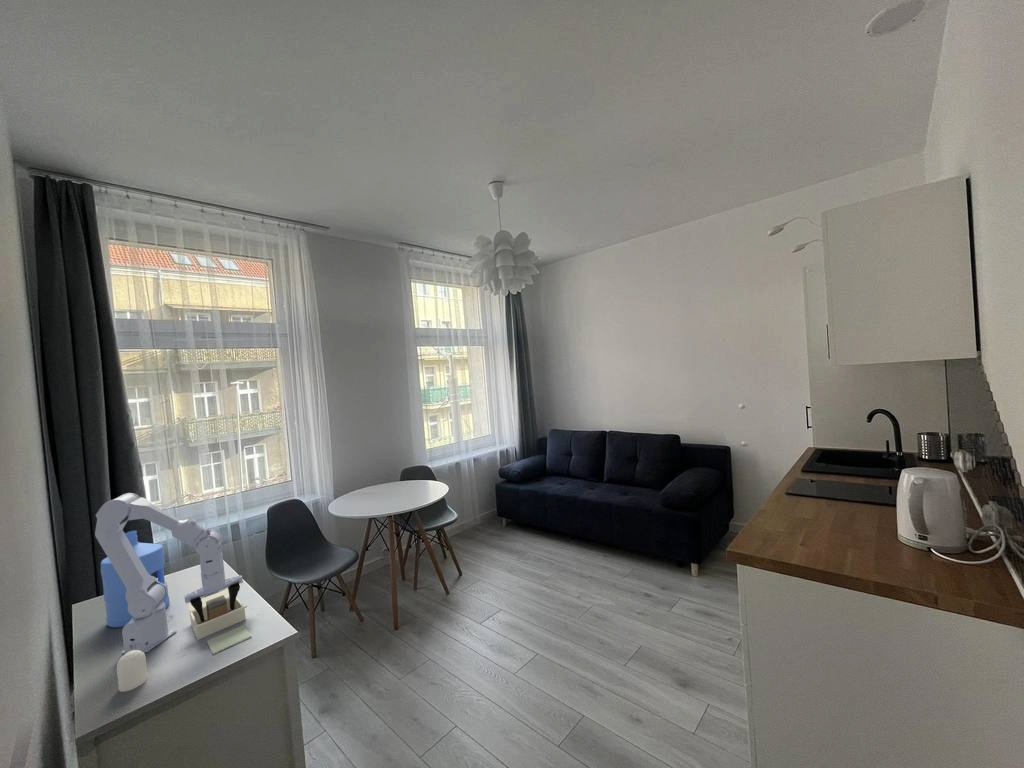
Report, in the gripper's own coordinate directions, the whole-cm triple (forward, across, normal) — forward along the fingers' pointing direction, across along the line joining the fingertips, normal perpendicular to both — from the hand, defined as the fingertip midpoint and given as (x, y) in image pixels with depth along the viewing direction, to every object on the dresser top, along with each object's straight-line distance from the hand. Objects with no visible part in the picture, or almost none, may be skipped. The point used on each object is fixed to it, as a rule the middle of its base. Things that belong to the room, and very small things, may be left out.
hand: (217, 614), depth 126 cm
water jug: (+3, +17, -32) cm, 36 cm away
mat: (+2, 0, +14) cm, 15 cm away
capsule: (+3, +20, +15) cm, 25 cm away
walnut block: (+2, 0, 0) cm, 2 cm away
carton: (+2, 0, 0) cm, 2 cm away
